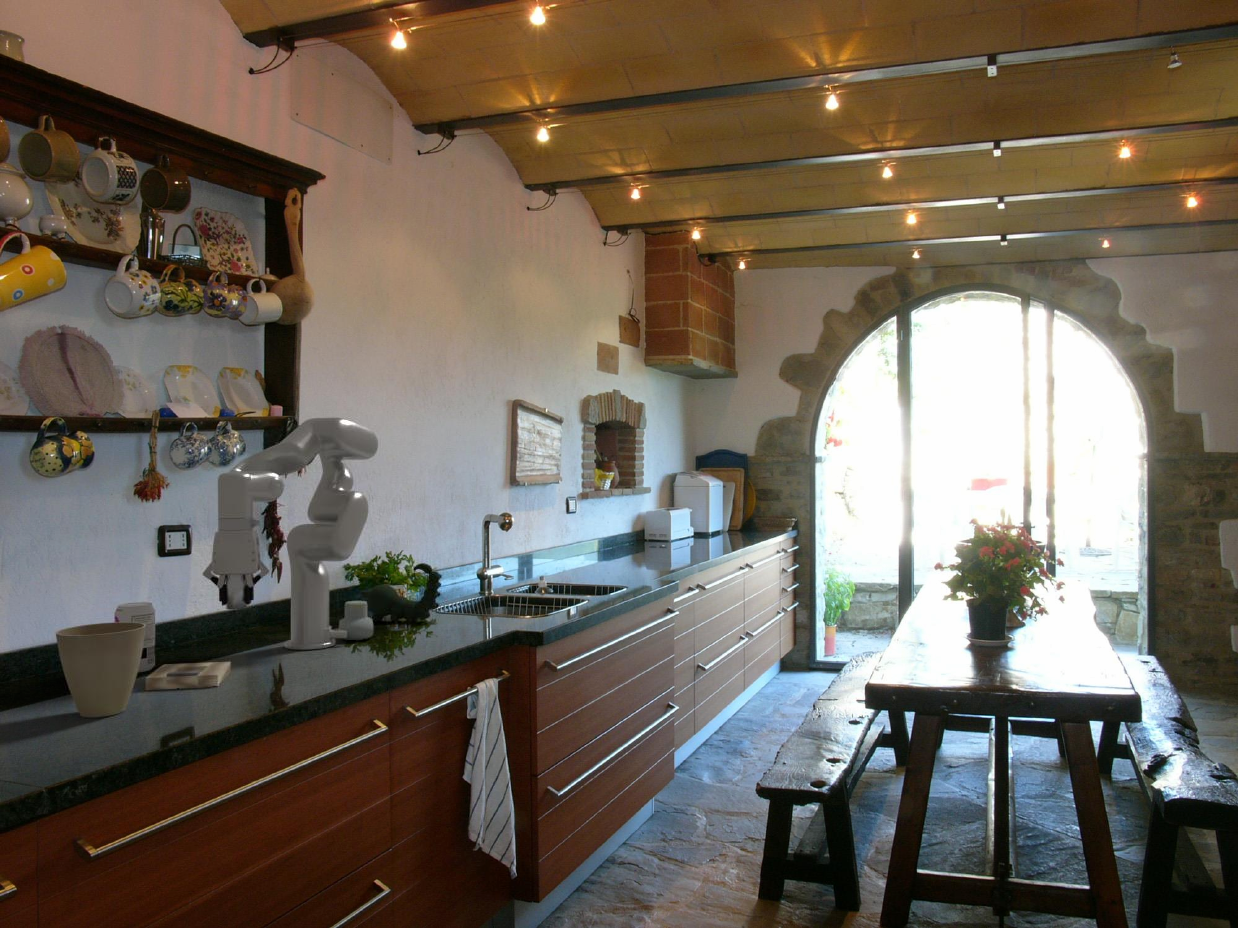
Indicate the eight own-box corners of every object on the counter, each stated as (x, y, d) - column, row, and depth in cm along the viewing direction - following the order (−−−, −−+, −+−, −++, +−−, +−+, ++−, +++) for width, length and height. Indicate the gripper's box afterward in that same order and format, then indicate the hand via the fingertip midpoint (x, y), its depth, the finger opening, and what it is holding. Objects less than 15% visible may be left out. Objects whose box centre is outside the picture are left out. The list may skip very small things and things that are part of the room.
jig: (230, 672, 211) (230, 658, 211) (217, 686, 198) (217, 671, 198) (163, 675, 208) (163, 661, 208) (145, 689, 195) (145, 675, 195)
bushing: (248, 605, 220) (248, 571, 220) (245, 608, 216) (245, 574, 216) (228, 606, 219) (227, 572, 219) (224, 609, 215) (223, 574, 215)
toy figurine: (440, 625, 286) (362, 616, 289) (446, 563, 286) (367, 555, 289) (430, 630, 276) (350, 621, 279) (436, 566, 276) (355, 558, 279)
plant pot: (125, 699, 187) (125, 619, 187) (159, 711, 177) (160, 626, 178) (42, 714, 175) (42, 629, 176) (74, 727, 166) (74, 637, 166)
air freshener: (374, 641, 250) (374, 603, 250) (342, 643, 247) (342, 605, 247) (369, 634, 260) (369, 598, 260) (338, 636, 257) (338, 600, 257)
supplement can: (110, 674, 209) (110, 607, 210) (119, 667, 217) (119, 602, 217) (150, 672, 212) (150, 606, 212) (158, 665, 220) (158, 601, 220)
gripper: (276, 523, 223) (277, 600, 223) (200, 525, 219) (201, 603, 219) (271, 525, 216) (272, 605, 216) (192, 527, 212) (193, 608, 212)
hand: (236, 603), depth 218 cm, fingers closed on bushing, 4 cm apart
